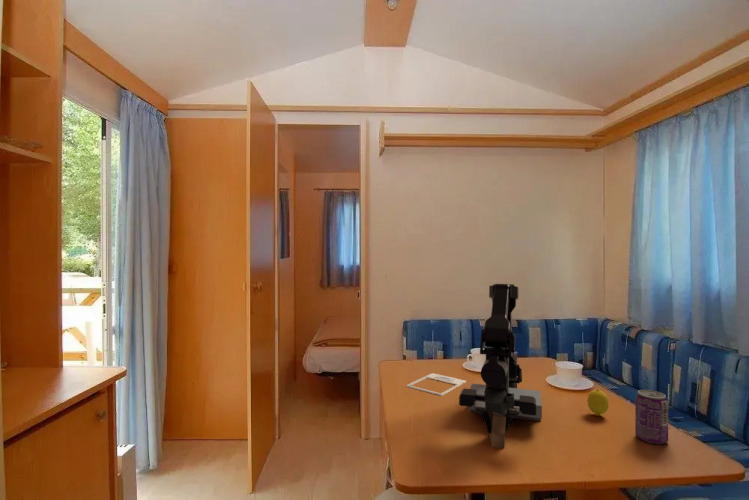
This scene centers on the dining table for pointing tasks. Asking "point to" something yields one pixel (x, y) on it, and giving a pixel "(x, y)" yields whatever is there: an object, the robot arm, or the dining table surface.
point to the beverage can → (651, 416)
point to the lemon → (598, 402)
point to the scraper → (497, 430)
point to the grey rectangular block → (517, 394)
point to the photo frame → (440, 378)
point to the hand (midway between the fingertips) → (497, 434)
